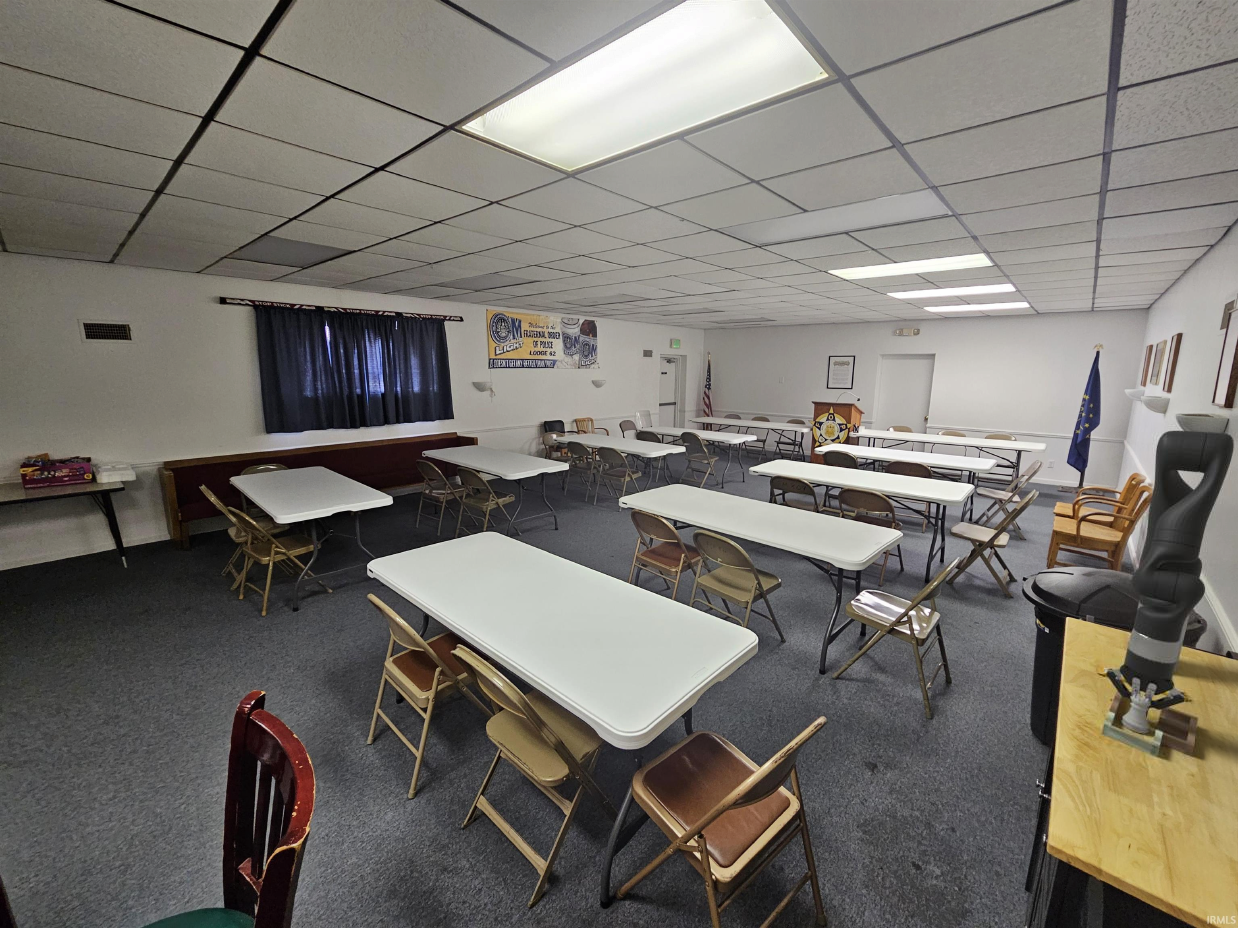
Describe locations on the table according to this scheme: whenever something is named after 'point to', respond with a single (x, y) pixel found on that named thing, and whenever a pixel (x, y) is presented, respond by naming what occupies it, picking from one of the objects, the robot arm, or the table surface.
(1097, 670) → the candy bar
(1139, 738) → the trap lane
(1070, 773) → the table surface
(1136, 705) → the rook chess piece
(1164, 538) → the robot arm
